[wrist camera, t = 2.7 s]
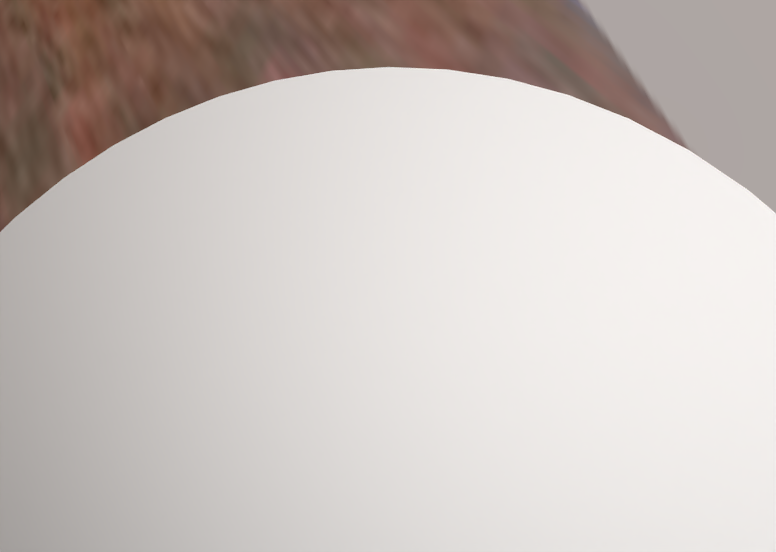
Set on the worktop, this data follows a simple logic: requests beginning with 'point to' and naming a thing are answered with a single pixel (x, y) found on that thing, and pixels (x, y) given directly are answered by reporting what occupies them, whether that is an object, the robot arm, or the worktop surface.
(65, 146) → the worktop surface
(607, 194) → the white banded cylinder
